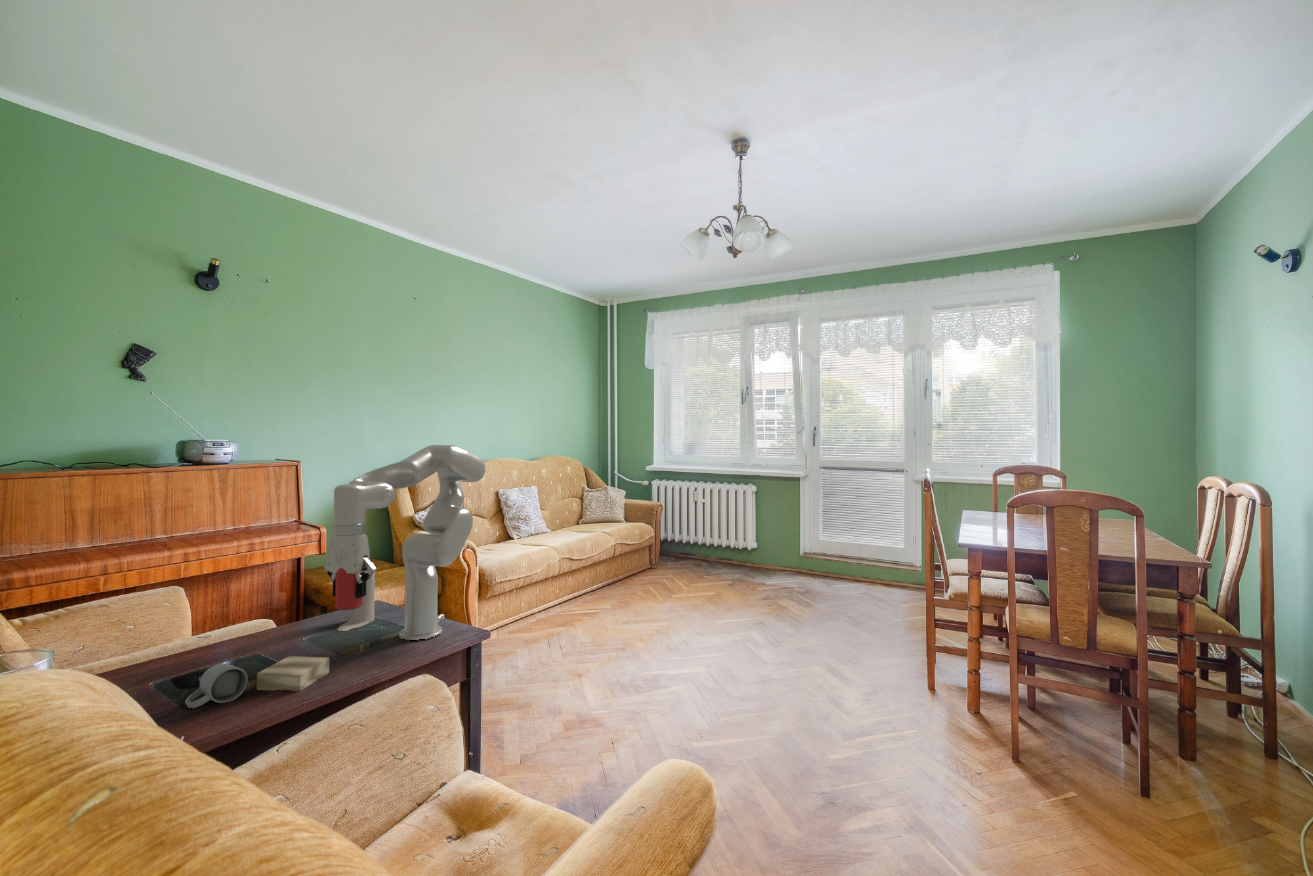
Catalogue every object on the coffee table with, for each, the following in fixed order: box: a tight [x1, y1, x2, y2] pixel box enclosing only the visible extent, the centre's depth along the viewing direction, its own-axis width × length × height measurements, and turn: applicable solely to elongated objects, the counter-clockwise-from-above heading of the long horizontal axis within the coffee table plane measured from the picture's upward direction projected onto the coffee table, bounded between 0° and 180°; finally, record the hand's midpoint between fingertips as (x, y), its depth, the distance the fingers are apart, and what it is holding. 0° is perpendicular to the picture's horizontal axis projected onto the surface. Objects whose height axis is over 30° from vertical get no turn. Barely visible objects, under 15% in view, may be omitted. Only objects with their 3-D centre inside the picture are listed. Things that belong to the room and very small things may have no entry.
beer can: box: [335, 568, 363, 611], centre depth 151 cm, size 7×7×12 cm
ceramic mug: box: [184, 663, 249, 709], centre depth 131 cm, size 11×8×8 cm
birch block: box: [256, 655, 330, 692], centre depth 141 cm, size 11×11×4 cm
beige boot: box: [337, 561, 376, 632], centre depth 185 cm, size 7×14×20 cm, turn 170°
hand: (349, 595), depth 151 cm, fingers closed on beer can, 6 cm apart
